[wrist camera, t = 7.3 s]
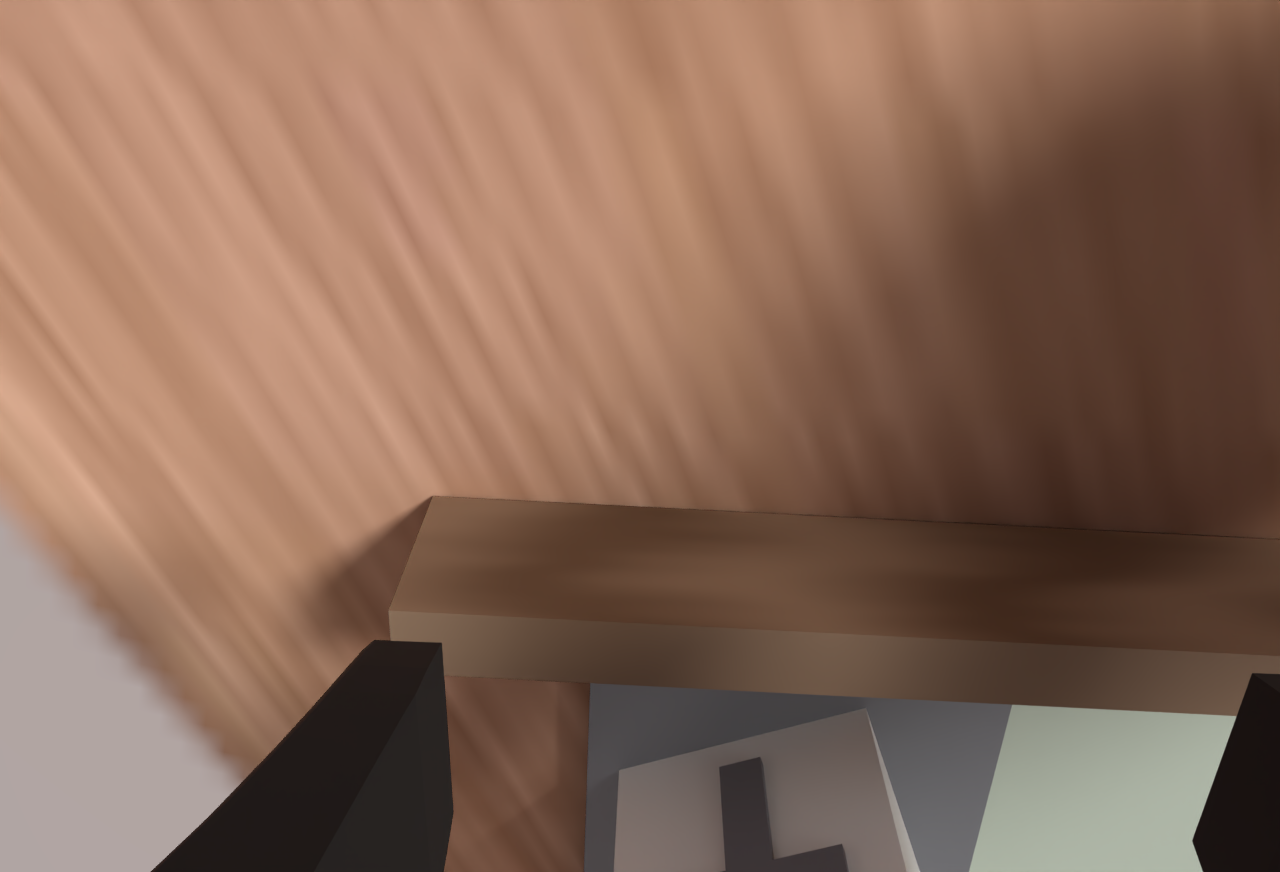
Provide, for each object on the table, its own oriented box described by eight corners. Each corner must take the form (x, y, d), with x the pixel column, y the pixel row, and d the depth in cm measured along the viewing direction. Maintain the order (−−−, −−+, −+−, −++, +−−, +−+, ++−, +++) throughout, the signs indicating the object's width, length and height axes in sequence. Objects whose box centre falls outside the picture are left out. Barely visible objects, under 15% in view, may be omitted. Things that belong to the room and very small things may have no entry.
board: (1413, 684, 21) (1440, 712, 20) (1283, 961, 24) (1303, 993, 24) (593, 642, 21) (590, 668, 20) (583, 925, 24) (581, 956, 24)
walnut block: (1531, 552, 20) (1696, 677, 16) (1504, 607, 20) (1659, 737, 17) (432, 496, 19) (388, 610, 16) (435, 552, 20) (392, 673, 17)
